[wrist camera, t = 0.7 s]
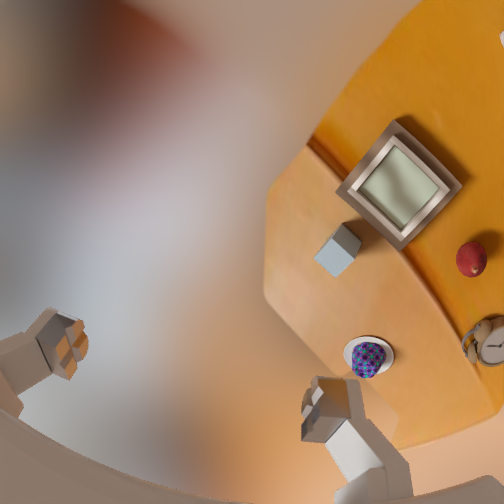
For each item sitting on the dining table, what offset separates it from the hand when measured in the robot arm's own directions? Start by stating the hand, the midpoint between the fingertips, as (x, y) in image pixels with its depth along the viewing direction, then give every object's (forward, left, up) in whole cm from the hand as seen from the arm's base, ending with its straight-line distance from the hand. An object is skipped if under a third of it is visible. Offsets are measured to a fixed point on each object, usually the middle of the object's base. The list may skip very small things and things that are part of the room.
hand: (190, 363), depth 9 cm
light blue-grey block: (+14, +5, -46) cm, 48 cm away
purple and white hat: (+30, +28, -46) cm, 62 cm away
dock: (-1, +6, -46) cm, 46 cm away
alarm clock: (+5, +43, -46) cm, 64 cm away
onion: (-2, +23, -46) cm, 52 cm away
